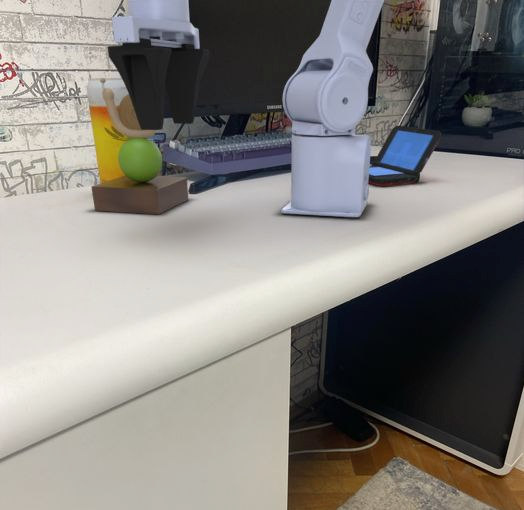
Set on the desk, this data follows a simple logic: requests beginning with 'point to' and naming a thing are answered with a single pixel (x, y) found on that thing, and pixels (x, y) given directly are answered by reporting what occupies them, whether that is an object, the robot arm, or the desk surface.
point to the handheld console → (403, 156)
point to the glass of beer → (106, 127)
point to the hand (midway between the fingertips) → (168, 126)
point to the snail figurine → (133, 140)
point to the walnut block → (140, 195)
